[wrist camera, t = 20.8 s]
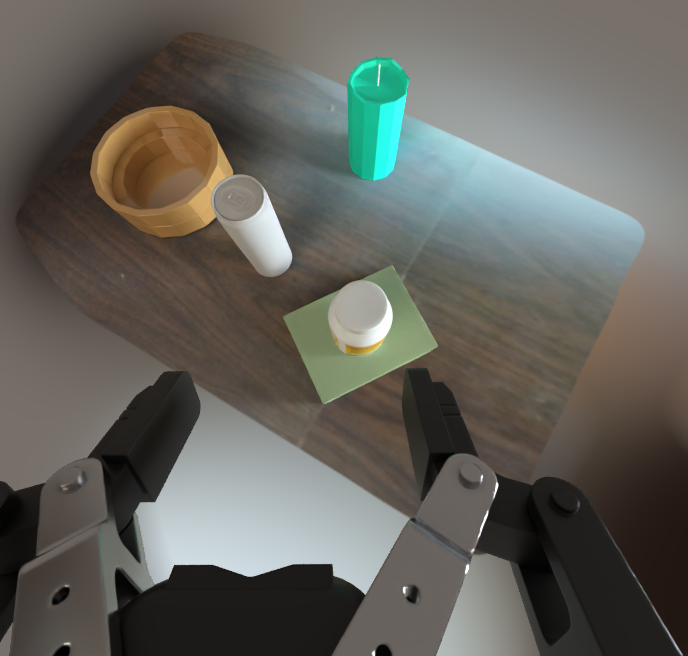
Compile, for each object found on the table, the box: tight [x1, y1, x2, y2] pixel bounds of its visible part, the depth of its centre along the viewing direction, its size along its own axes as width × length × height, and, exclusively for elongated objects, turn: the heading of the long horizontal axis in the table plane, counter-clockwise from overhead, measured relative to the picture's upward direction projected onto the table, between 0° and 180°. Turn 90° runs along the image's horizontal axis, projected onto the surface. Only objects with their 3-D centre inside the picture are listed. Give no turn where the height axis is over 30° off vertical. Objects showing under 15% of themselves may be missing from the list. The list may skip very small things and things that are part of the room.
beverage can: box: [211, 174, 292, 277], centre depth 32 cm, size 5×5×12 cm
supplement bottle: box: [328, 280, 392, 357], centre depth 28 cm, size 5×5×10 cm
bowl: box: [90, 106, 233, 237], centre depth 38 cm, size 15×15×5 cm
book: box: [283, 265, 438, 404], centre depth 34 cm, size 13×10×3 cm
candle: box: [347, 57, 409, 181], centre depth 35 cm, size 6×6×12 cm
